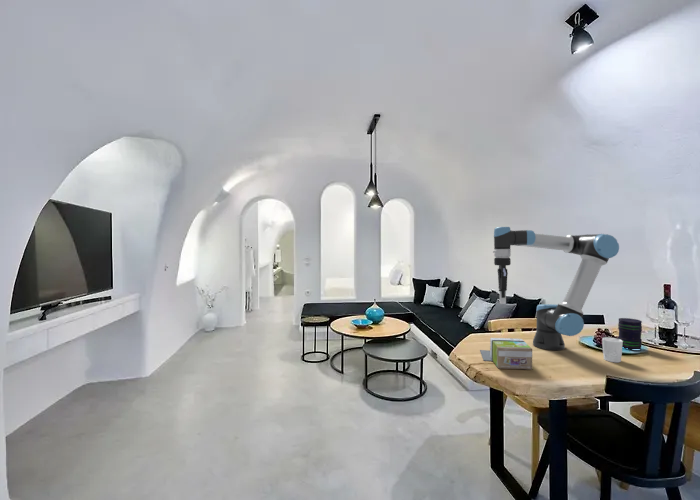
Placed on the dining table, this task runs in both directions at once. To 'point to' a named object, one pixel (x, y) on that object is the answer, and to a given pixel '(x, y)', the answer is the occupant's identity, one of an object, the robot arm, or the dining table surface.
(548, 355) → the dining table surface
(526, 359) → the tea box
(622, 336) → the storage jar
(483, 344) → the dining table surface
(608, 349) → the white cup
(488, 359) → the mat
